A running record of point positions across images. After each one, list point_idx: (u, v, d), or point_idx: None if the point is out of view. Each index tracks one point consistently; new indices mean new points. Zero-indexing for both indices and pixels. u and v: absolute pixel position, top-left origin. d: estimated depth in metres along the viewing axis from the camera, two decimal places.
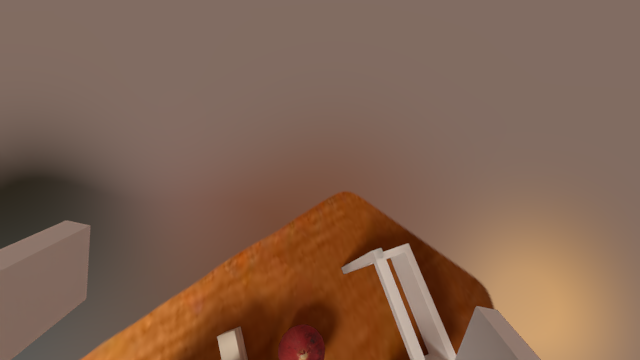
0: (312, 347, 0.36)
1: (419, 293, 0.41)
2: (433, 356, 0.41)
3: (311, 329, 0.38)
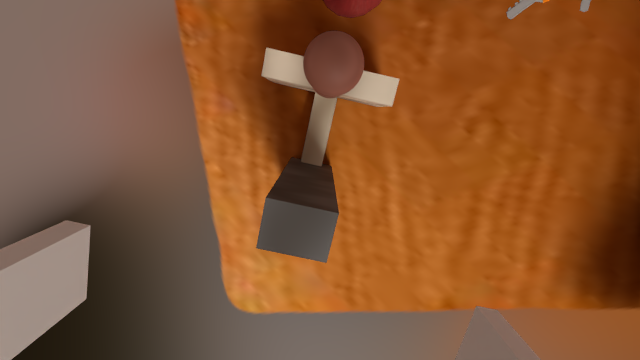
0: None
1: None
2: None
3: None
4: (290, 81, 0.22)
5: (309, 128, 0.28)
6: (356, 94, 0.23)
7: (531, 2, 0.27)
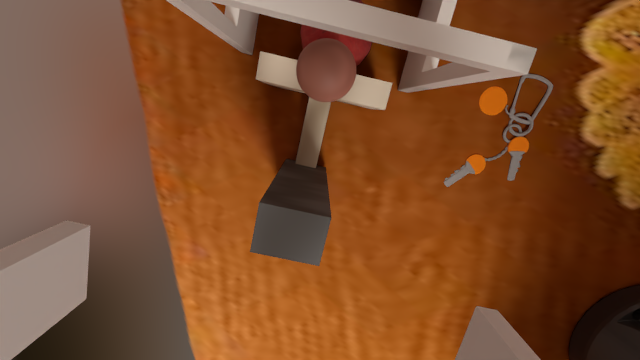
0: None
1: None
2: None
3: None
4: (284, 85, 0.23)
5: (303, 130, 0.28)
6: (349, 98, 0.23)
7: (465, 174, 0.31)
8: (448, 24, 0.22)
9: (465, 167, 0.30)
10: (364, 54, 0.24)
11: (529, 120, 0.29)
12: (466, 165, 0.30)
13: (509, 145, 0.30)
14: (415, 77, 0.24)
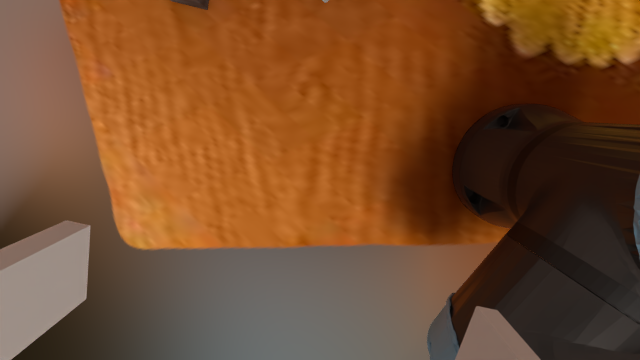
0: None
1: None
2: None
3: None
4: None
5: None
6: None
7: None
8: None
9: None
10: None
11: None
12: None
13: None
14: None
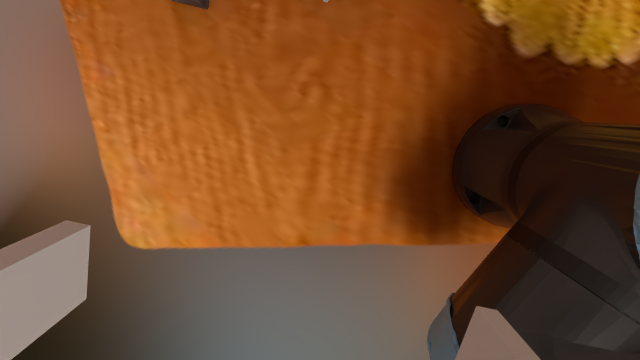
0: None
1: None
2: None
3: None
4: None
5: None
6: None
7: None
8: None
9: None
10: None
11: None
12: None
13: None
14: None
